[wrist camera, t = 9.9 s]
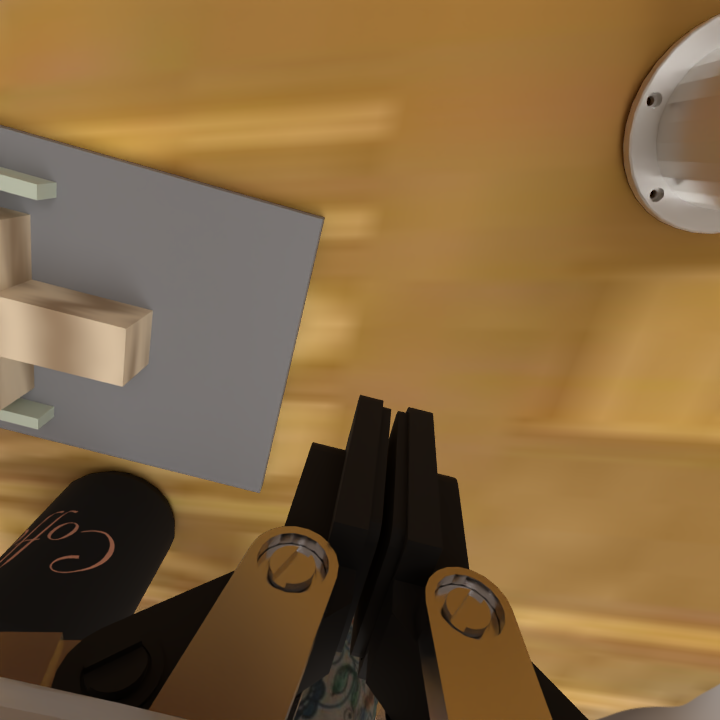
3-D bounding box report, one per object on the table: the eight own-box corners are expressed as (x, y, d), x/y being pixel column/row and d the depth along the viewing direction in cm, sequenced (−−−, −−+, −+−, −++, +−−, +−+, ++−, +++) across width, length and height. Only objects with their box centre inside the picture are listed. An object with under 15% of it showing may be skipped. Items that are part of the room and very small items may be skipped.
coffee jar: (170, 466, 43) (33, 664, 26) (188, 557, 47) (80, 776, 31) (54, 463, 43) (-151, 654, 27) (82, 553, 48) (-81, 766, 31)
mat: (324, 217, 34) (318, 223, 31) (262, 485, 43) (253, 508, 40) (-54, 109, 32) (-96, 105, 29) (-32, 411, 42) (-62, 430, 39)
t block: (158, 248, 34) (130, 260, 30) (144, 414, 40) (119, 441, 36) (-35, 197, 33) (-88, 203, 30) (-22, 374, 39) (-65, 397, 35)
